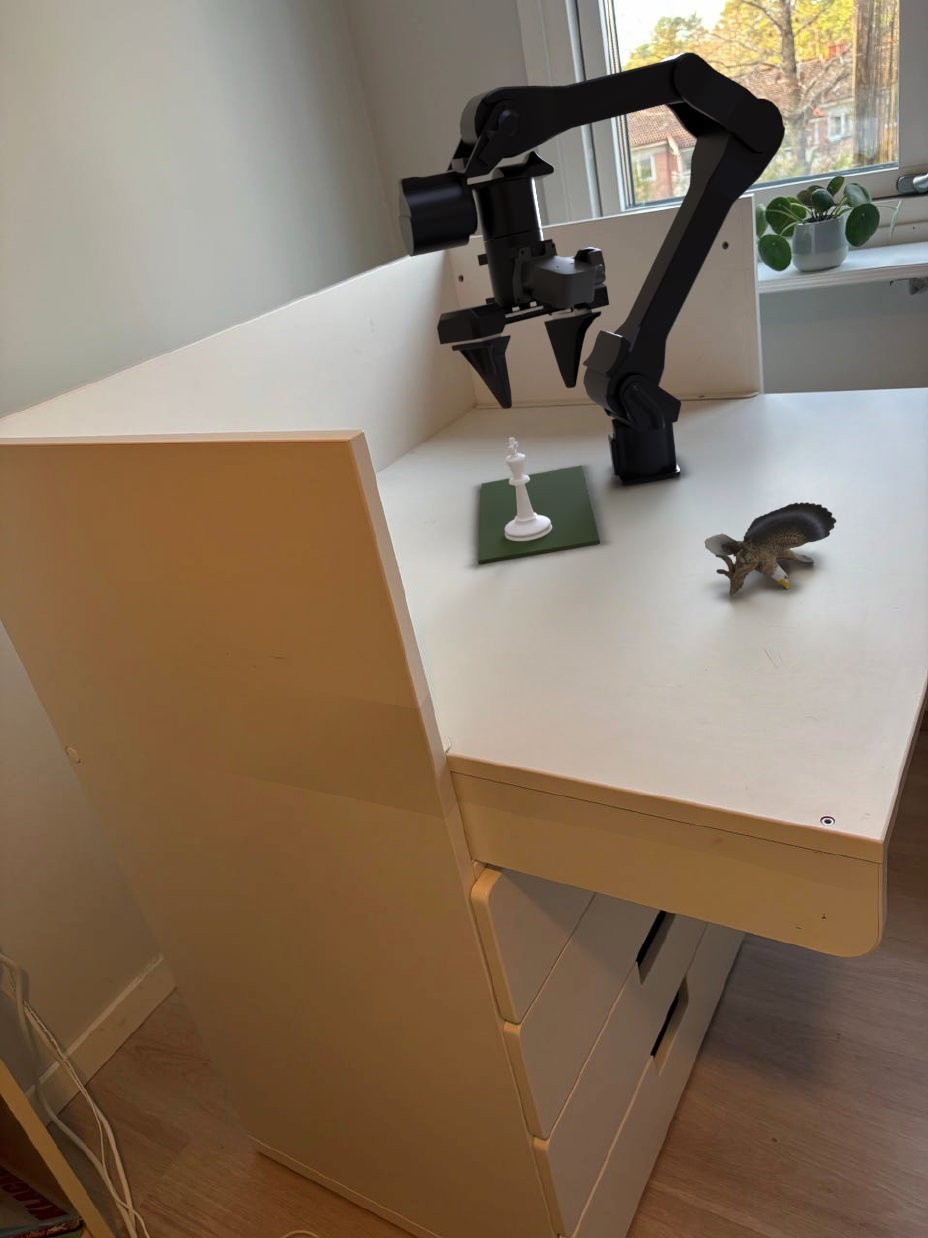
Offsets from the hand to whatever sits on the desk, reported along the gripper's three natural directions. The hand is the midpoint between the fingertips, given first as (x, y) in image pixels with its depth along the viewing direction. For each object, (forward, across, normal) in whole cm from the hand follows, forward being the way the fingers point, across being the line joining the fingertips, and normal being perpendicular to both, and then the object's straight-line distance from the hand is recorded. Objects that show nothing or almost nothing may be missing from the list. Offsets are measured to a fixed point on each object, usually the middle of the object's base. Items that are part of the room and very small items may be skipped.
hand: (540, 397), depth 95 cm
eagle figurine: (+16, -3, -27) cm, 32 cm away
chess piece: (+13, -6, -1) cm, 14 cm away
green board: (+12, -1, +3) cm, 12 cm away
